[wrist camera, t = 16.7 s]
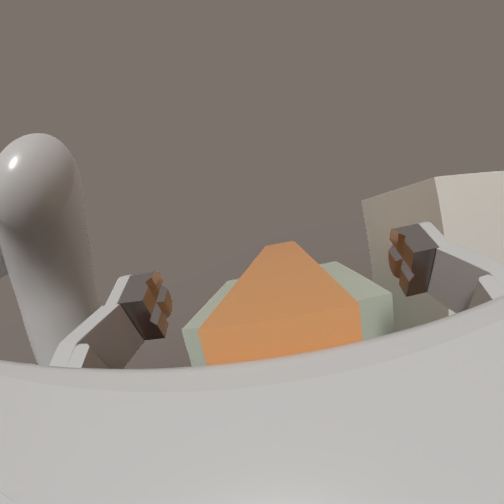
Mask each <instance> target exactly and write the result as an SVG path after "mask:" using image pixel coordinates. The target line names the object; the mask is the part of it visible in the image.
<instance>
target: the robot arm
mask: <svg viewBox="0 0 504 504" xmlns="http://www.w3.org/2000/svg"><path fill="white" fill-rule="evenodd" d="M389 240H390V241H391V242H392V244H393V245H392V246H391V248H390V249H389V252H388V260H389V266H390V269H391V272H392V273H393V275H394V276H395V277H397V278H399V279H400V280H399V285H400V287H401V289H402V291H403V292H404V294H405V296H406V297H408V296H413V295H417V294H421V293H425V292H427V294H429V295H430V296H432V297H433V298H435V299H436V300H438V301H439V302H440V303H442V304H443V305H445V306H446V307H448V308H449V309H450V310H452V311H453V312H455V313H456V314H453V315H450V316H447V317H444V318H441V319H438V320H435V321H432V322H428V323H425V324H422V325H419V326H415V327H412V328H408V329H405V330H401V331H398V332H394V333H390V334H387V335H383V336H379V337H375V338H371V339H367V340H362V341H358V342H354V343H349V344H345V345H340V346H335V347H330V348H325V349H320V350H315V351H310V352H304V353H298V354H292V355H286V356H280V357H273V358H266V359H259V360H251V361H243V362H234V363H225V364H214V365H203V366H190V367H173V368H150V369H149V368H147V369H124V367H125V365H126V364H127V362H129V360H130V359H131V358H132V356H133V355H134V354H135V353H136V351H137V350H138V349H139V348H140V346H141V345H142V344H143V343H144V340H151V339H159V338H165V336H166V332H167V328H168V322H167V320H166V319H167V318H168V317H169V316H170V315H171V312H172V300H171V296H170V293H169V291H168V289H166V288H165V287H163V286H162V282H163V279H162V277H161V275H160V273H159V272H157V271H152V272H145V273H138V274H133V275H127V276H122V277H120V278H119V279H118V280H117V282H116V284H115V286H114V288H113V290H112V292H111V294H110V296H109V298H108V300H107V302H106V305H105V306H101V302H100V299H99V294H98V290H97V286H96V281H95V275H94V270H93V265H92V259H91V253H90V247H89V241H88V233H87V225H86V217H85V209H84V198H83V187H82V178H81V173H80V170H79V167H78V165H77V163H76V161H75V160H74V158H73V156H72V154H71V153H70V152H69V150H68V149H67V148H66V146H65V145H64V144H63V143H62V142H61V141H59V140H58V139H56V138H55V137H53V136H50V135H47V134H41V133H35V134H28V135H25V136H22V137H20V138H18V139H16V140H14V141H13V142H12V143H11V144H9V145H8V146H7V147H6V148H5V149H4V150H3V151H2V152H1V153H0V278H2V277H4V276H5V275H7V274H9V277H10V280H11V283H12V286H13V289H14V291H15V294H16V298H17V301H18V304H19V307H20V311H21V314H22V318H23V321H24V325H25V328H26V331H27V335H28V338H29V341H30V344H31V347H32V350H33V353H34V356H35V358H36V361H37V365H35V364H27V363H19V362H11V361H4V360H0V504H504V265H502V264H500V263H498V262H496V261H494V260H491V259H489V258H487V257H485V256H482V255H480V254H478V253H475V252H473V251H471V250H468V249H466V248H464V247H461V246H459V245H456V244H453V245H452V244H451V243H450V242H449V241H448V240H447V239H446V238H445V237H444V236H443V235H442V234H441V233H440V231H439V230H438V229H437V228H436V227H435V226H434V225H433V224H432V223H431V222H428V221H426V222H421V223H417V224H413V225H408V226H403V227H398V228H394V229H391V232H390V239H389Z"/></svg>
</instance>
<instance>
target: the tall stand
mask: <svg viewBox="0 0 504 504" xmlns="http://www.w3.org/2000/svg"><path fill="white" fill-rule="evenodd" d="M361 204H362V209H363V214H364V220H365V226H366V232H367V237H368V244H369V251H370V258H371V266H372V274H373V282H374V283H376V284H377V285H379V286H381V287H383V288H384V289H386V290H388V291H390V292H391V293H392V299H393V314H394V332H398V331H401V330H405V329H408V328H412V327H415V326H419V325H422V324H425V323H428V322H432V321H435V320H438V319H441V318H444V317H447V316H450V315H453V314H456V313H455V312H453V311H452V310H450V309H449V308H448V307H446V306H445V305H443V304H442V303H440V302H439V301H438V300H436V299H435V298H433V297H432V296H430V295H429V294H427V292H425V293H421V294H417V295H413V296H408V297H406V296H405V294H404V292H403V291H402V289H401V287H400V285H399V280H400V279H399V278H397V277H395V276H394V275H393V273H392V272H391V269H390V266H389V260H388V252H389V249H390V248H391V246H392V245H393V244H392V242H391V241H390V240H389V239H390V232H391V229H394V228H398V227H403V226H408V225H413V224H417V223H421V222H426V221H428V222H431V223H432V224H433V225H434V226H435V227H436V228H437V229H438V230H439V231H440V233H441V234H442V235H443V236H444V237H445V238H446V239H447V240H448V241H449V242H450V243H451V244H452V245H453V244H456V245H459V246H461V247H464V248H466V249H468V250H471V251H473V252H475V253H478V254H480V255H482V256H485V257H487V258H489V259H491V260H494V261H496V262H498V263H500V264H502V265H504V171H496V172H483V173H472V174H461V175H452V176H451V175H450V176H441V177H433V178H430V179H427V180H424V181H421V182H418V183H415V184H411V185H408V186H405V187H402V188H399V189H396V190H392V191H389V192H387V193H383V194H380V195H377V196H374V197H371V198H368V199H365V200H362V201H361Z"/></svg>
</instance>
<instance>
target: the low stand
mask: <svg viewBox="0 0 504 504" xmlns="http://www.w3.org/2000/svg"><path fill="white" fill-rule="evenodd" d="M319 265H320V266H321V267H322V268H323V269H324V270H325V271H326V272H327V273H328V274H329V275H330V276H331V277H332V278H333V279H334V280H336V281H337V282H338V283H339V284H340V285H341V286H342V287H343V288H344V289H345V290H346V291H347V292H348V293H349V294H350V295H351V296H352V297H353V298H354V299H355V300H356V301H357V302H358V303H359V306H360V316H361V327H362V340H367V339H371V338H375V337H379V336H383V335H387V334H390V333H394V314H393V299H392V293H391V292H390V291H388V290H386V289H384V288H383V287H381V286H379V285H377V284H376V283H374V282H372V281H370V280H369V279H367V278H365V277H363V276H362V275H360V274H358V273H356V272H355V271H353V270H351V269H349V268H347V267H346V266H344V265H342V264H340V263H338V262H336V261H335V262H330V263H325V264H319ZM238 280H239V279H235V280H230V281H227V282H226V283H225V284H224V285H223V286H222V287H221V288H220V290H219V291H218V292H217V293H216V294H215V295H214V296H213V297H212V298H211V299H210V300H209V301H208V302H207V303H206V304H205V306H204V307H203V308H202V309H201V310H200V311H199V312H198V313H197V314H196V315H195V316H194V317H193V318H192V319H191V320H190V322H188V323H187V324H186V326H185V327H184V328H183V329H182V332H183V336H184V340H185V344H186V348H187V351H188V355H189V358H190V361H191V365H192V366H203V365H207V364H206V361H205V357H204V353H203V349H202V346H201V342H200V338H199V334H198V329H199V328H200V327H201V325H202V324H203V323H204V322H205V320H206V319H207V318H208V317H209V316H210V314H211V313H212V312H213V311H214V309H215V308H216V307H217V306H218V304H219V303H220V302H221V301H222V300H223V298H224V297H225V296H226V295H227V293H228V292H229V291H230V290H231V288H232V287H233V286H234V285H235V283H236V282H237V281H238Z"/></svg>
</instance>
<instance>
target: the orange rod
mask: <svg viewBox="0 0 504 504" xmlns="http://www.w3.org/2000/svg"><path fill="white" fill-rule="evenodd" d="M198 334H199V338H200V342H201V346H202V349H203V353H204V357H205V361H206V364H207V365H214V364H225V363H234V362H243V361H251V360H259V359H266V358H273V357H280V356H286V355H292V354H298V353H304V352H310V351H315V350H320V349H325V348H330V347H335V346H340V345H345V344H349V343H354V342H358V341H362V327H361V316H360V306H359V303H358V302H357V301H356V300H355V299H354V298H353V297H352V296H351V295H350V294H349V293H348V292H347V291H346V290H345V289H344V288H343V287H342V286H341V285H340V284H339V283H338V282H337V281H336V280H334V279H333V278H332V277H331V276H330V275H329V274H328V273H327V272H326V271H325V270H324V269H323V268H322V267H321V266H320V265H319V264H318V263H317V262H315V260H313V259H312V258H311V257H310V256H309V255H308V254H307V253H306V252H305V251H304V250H303V249H302V248H301V247H300V246H299V245H297V244H296V243H295V242H294V241H290V242H285V243H279V244H274V245H269V246H265V248H264V249H263V250H262V251H261V253H260V254H259V255H258V256H257V257H256V259H255V260H254V261H253V262H252V264H251V265H250V266H249V268H248V269H247V270H246V271H245V272H244V274H243V275H242V276H241V277H240V279H239V280H238V281H237V282H236V283H235V285H234V286H233V287H232V288H231V290H230V291H229V292H228V293H227V295H226V296H225V297H224V298H223V300H222V301H221V302H220V303H219V304H218V306H217V307H216V308H215V309H214V311H213V312H212V313H211V314H210V316H209V317H208V318H207V319H206V320H205V322H204V323H203V324H202V325H201V327H200V328H199V329H198Z"/></svg>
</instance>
